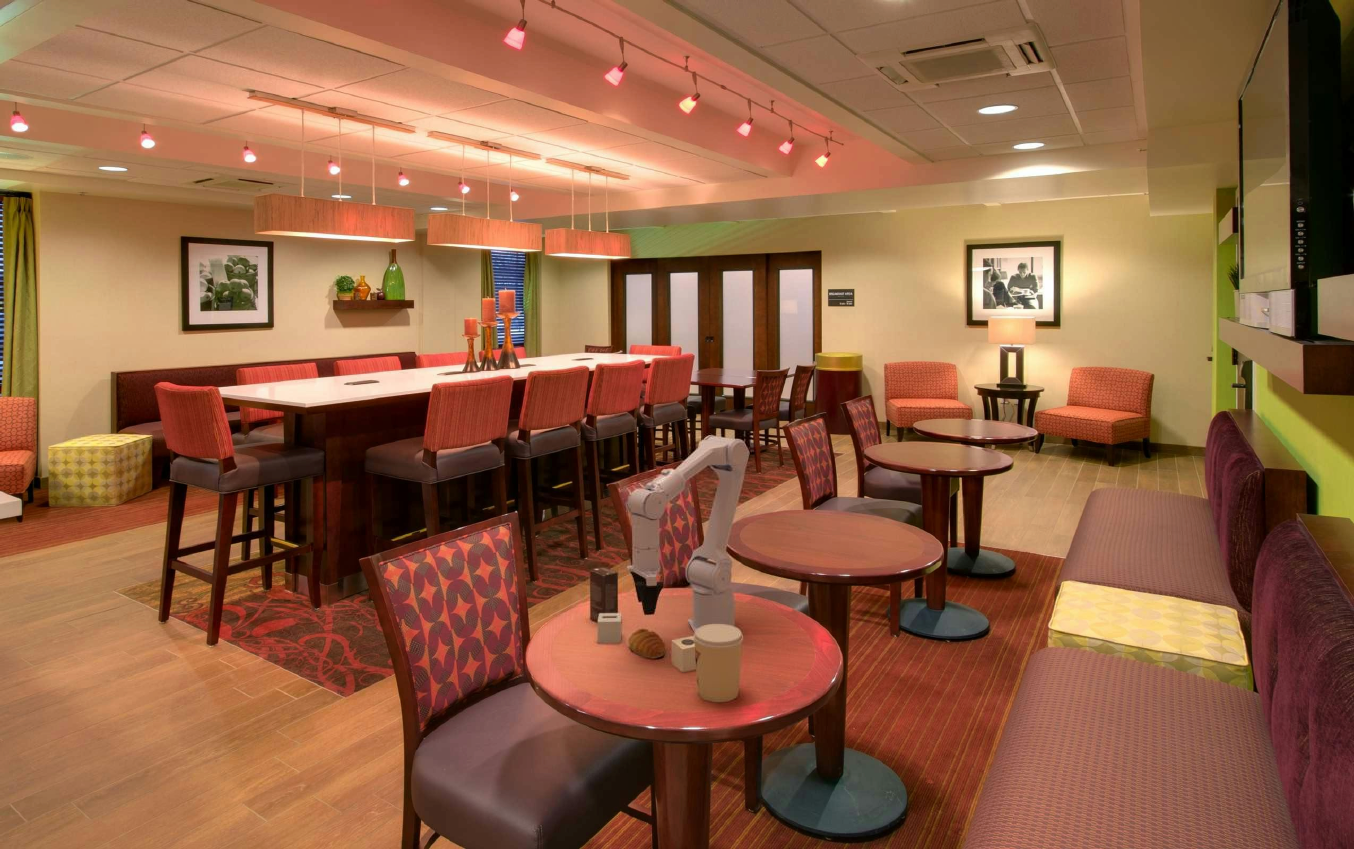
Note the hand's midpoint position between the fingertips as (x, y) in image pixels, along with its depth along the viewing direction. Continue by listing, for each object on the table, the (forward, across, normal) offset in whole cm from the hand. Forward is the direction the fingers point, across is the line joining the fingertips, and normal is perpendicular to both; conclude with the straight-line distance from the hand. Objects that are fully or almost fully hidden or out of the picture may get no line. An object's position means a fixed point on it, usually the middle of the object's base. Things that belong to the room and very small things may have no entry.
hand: (646, 607), depth 170 cm
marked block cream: (+10, +9, +7) cm, 15 cm away
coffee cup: (+10, +22, +10) cm, 26 cm away
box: (+10, -19, -7) cm, 22 cm away
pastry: (+10, 0, 0) cm, 10 cm away
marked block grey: (+10, -8, -7) cm, 14 cm away
